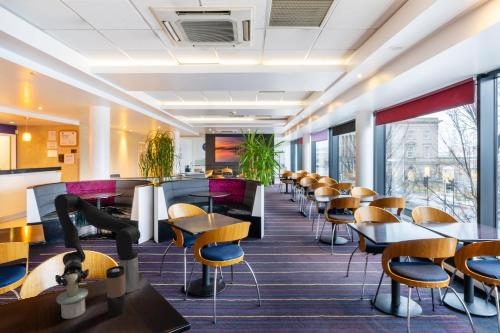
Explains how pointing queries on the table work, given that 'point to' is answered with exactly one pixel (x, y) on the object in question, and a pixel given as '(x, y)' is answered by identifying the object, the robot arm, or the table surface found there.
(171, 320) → the table surface
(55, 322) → the table surface
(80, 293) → the lid
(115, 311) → the travel mug
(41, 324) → the table surface
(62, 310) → the bowl
